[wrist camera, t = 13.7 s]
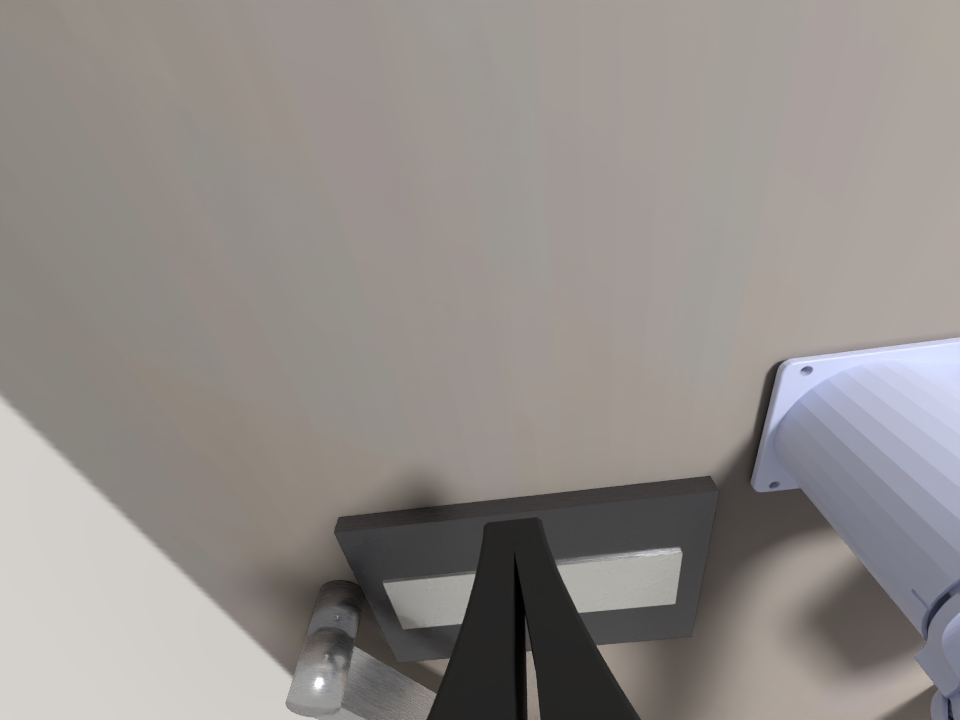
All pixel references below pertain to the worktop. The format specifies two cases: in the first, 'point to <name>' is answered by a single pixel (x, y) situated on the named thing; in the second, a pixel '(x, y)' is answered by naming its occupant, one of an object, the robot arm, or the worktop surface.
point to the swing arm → (352, 684)
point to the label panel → (574, 546)
